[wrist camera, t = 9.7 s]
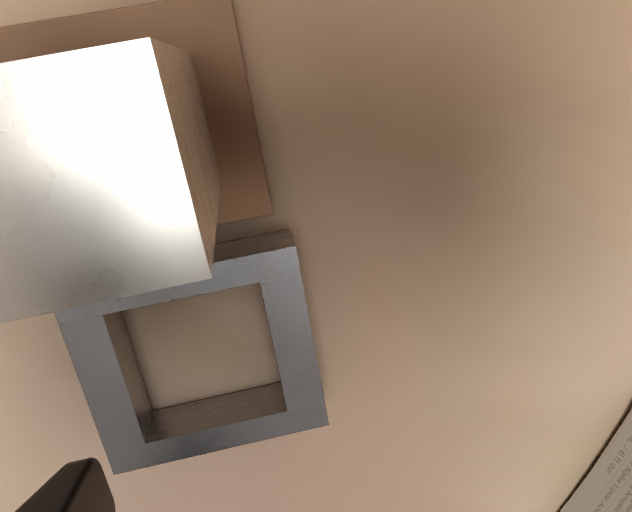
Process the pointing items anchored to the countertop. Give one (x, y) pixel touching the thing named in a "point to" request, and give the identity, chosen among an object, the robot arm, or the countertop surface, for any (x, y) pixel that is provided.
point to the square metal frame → (212, 413)
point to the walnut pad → (211, 71)
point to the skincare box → (608, 477)
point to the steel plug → (103, 177)
